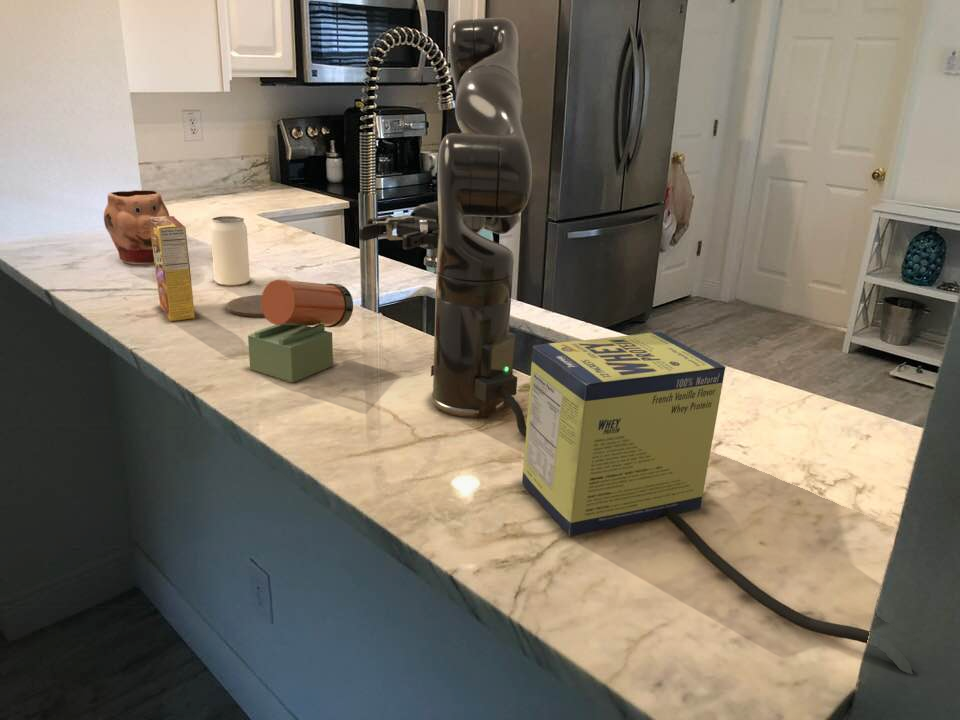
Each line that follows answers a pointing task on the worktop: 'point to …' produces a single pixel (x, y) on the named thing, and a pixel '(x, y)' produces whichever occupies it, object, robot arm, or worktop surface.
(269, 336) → the stand
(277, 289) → the jar
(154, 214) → the decorative planter
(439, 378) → the robot arm
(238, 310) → the coaster
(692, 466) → the protein box
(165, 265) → the candy box
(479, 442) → the worktop surface
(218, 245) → the can
